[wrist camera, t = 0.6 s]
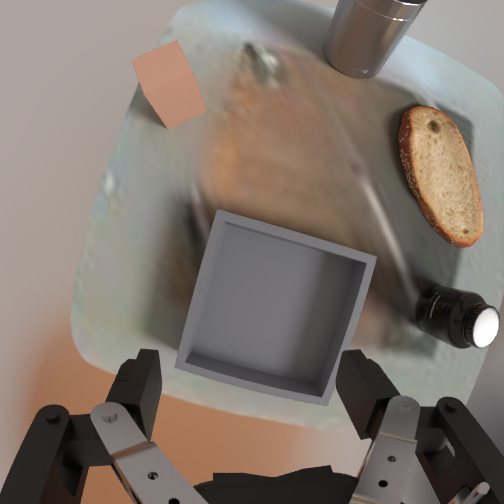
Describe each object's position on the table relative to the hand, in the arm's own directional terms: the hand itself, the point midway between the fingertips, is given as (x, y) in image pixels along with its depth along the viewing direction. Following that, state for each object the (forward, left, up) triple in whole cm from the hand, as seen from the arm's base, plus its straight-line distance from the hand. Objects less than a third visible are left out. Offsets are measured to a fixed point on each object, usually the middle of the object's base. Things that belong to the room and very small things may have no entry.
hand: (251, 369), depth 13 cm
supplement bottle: (-4, +25, -25) cm, 35 cm away
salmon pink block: (-21, -16, -25) cm, 36 cm away
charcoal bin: (+1, +3, -25) cm, 25 cm away
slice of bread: (-23, +22, -25) cm, 41 cm away
